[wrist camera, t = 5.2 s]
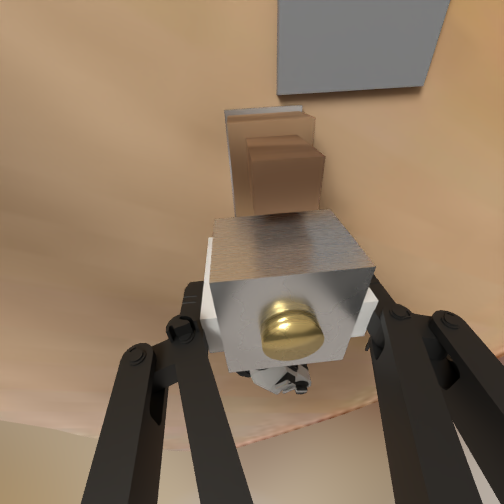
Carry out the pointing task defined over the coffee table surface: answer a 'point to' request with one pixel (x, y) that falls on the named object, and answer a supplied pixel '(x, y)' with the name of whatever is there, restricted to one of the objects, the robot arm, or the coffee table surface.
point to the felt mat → (355, 44)
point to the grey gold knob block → (286, 288)
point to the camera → (281, 378)
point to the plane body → (273, 160)
